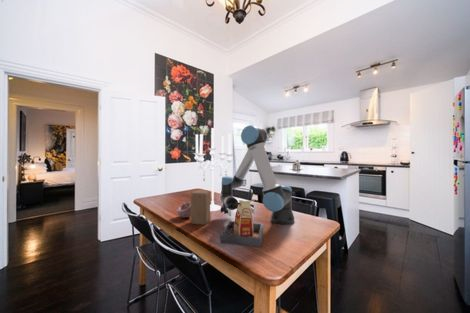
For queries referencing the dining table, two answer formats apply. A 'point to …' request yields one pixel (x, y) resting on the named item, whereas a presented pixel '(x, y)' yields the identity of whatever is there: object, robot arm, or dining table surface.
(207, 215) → the wooden block
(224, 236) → the carton holder
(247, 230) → the milk carton
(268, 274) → the dining table surface
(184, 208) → the mortar and pestle
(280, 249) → the dining table surface
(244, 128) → the robot arm
